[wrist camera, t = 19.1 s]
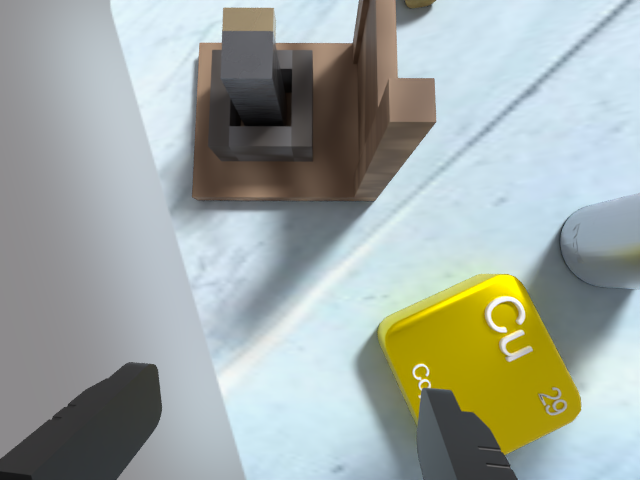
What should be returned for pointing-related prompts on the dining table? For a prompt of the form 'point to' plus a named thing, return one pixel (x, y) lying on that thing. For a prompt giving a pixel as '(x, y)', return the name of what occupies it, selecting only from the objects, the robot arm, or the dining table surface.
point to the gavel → (418, 3)
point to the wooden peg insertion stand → (316, 121)
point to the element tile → (483, 358)
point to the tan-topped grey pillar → (253, 66)
